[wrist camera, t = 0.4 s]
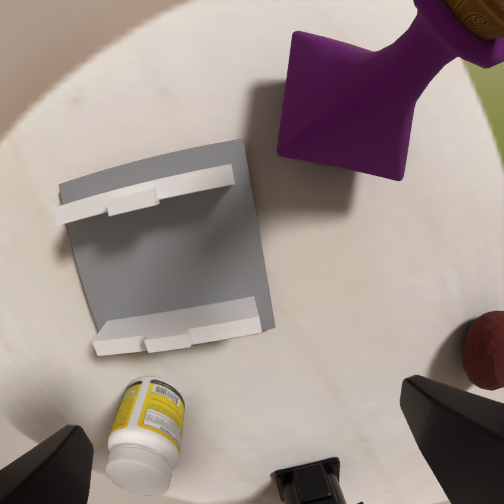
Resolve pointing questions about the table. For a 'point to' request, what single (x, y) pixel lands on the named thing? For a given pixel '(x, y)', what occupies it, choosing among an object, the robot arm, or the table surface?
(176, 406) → the supplement bottle
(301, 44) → the purple potion bottle
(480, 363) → the potato
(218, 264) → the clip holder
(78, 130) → the table surface
